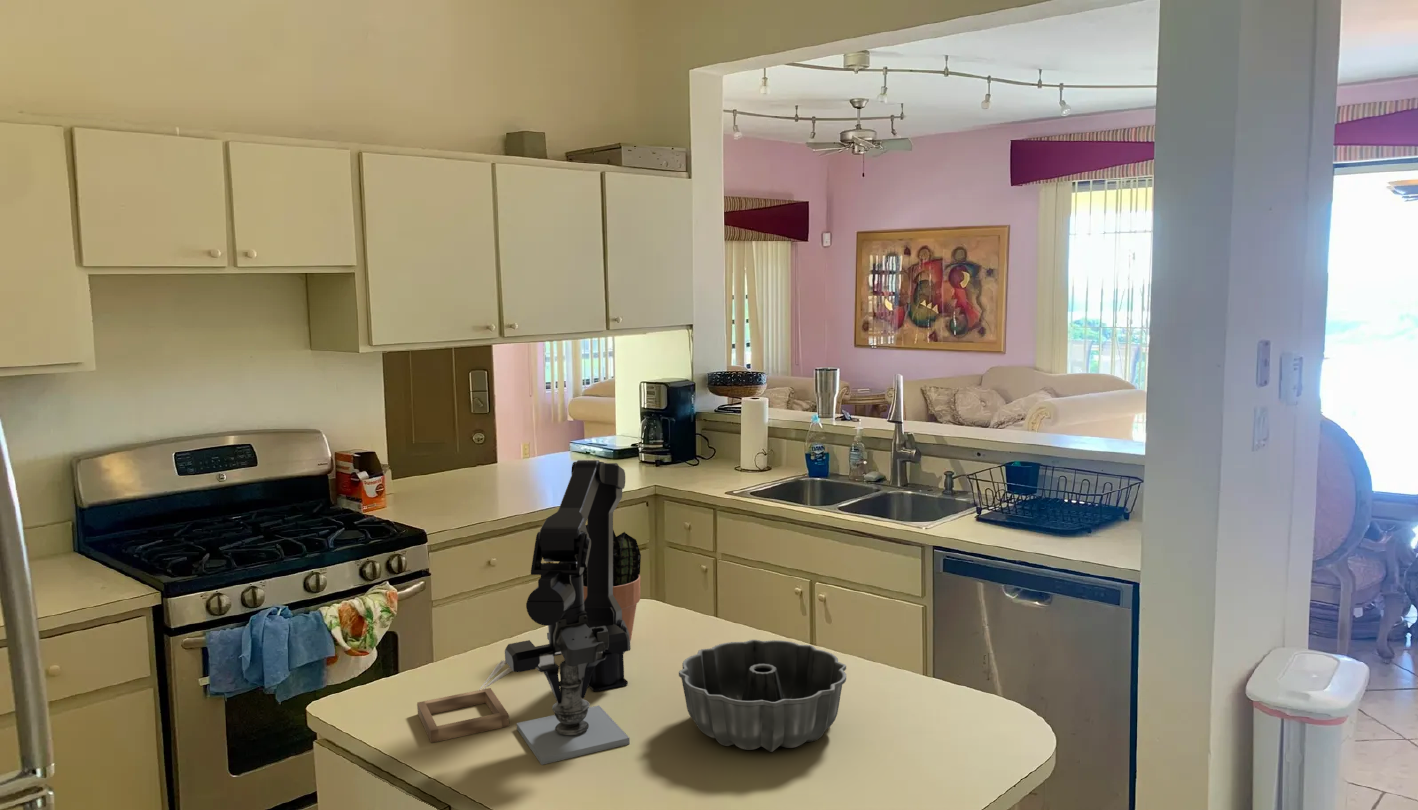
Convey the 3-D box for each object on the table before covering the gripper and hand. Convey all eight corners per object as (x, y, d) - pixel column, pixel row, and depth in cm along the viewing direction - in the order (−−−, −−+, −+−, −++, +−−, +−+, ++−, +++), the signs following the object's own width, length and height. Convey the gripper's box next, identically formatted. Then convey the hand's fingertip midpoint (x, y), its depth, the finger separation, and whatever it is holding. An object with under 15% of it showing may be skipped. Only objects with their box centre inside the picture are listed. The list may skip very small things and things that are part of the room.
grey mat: (599, 710, 166) (599, 705, 166) (629, 743, 154) (629, 737, 154) (516, 729, 160) (516, 723, 160) (541, 764, 148) (541, 758, 148)
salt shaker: (583, 736, 154) (580, 662, 152) (547, 734, 155) (543, 660, 153) (595, 720, 159) (592, 648, 158) (560, 718, 161) (557, 646, 159)
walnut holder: (491, 698, 173) (490, 687, 173) (509, 725, 162) (508, 714, 162) (417, 713, 168) (417, 702, 167) (431, 742, 156) (430, 730, 156)
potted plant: (614, 658, 190) (608, 530, 188) (560, 646, 198) (554, 522, 195) (656, 636, 202) (651, 515, 199) (603, 626, 209) (598, 509, 206)
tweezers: (504, 664, 191) (503, 654, 190) (527, 666, 189) (526, 656, 189) (458, 707, 174) (457, 696, 174) (482, 709, 173) (481, 699, 173)
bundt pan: (862, 703, 166) (861, 645, 165) (828, 777, 142) (827, 709, 141) (712, 687, 175) (710, 632, 174) (656, 754, 150) (654, 690, 149)
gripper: (520, 629, 144) (526, 732, 145) (640, 607, 152) (644, 706, 153) (501, 608, 154) (506, 705, 155) (615, 589, 162) (619, 681, 163)
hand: (570, 699), depth 157 cm, fingers closed on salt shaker, 3 cm apart
